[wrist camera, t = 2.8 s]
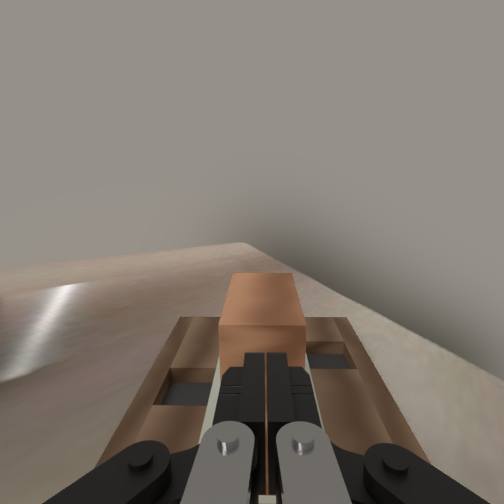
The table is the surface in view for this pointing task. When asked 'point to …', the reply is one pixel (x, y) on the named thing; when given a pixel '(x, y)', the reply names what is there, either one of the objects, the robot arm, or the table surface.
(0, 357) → the table surface
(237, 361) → the block
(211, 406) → the lane board
